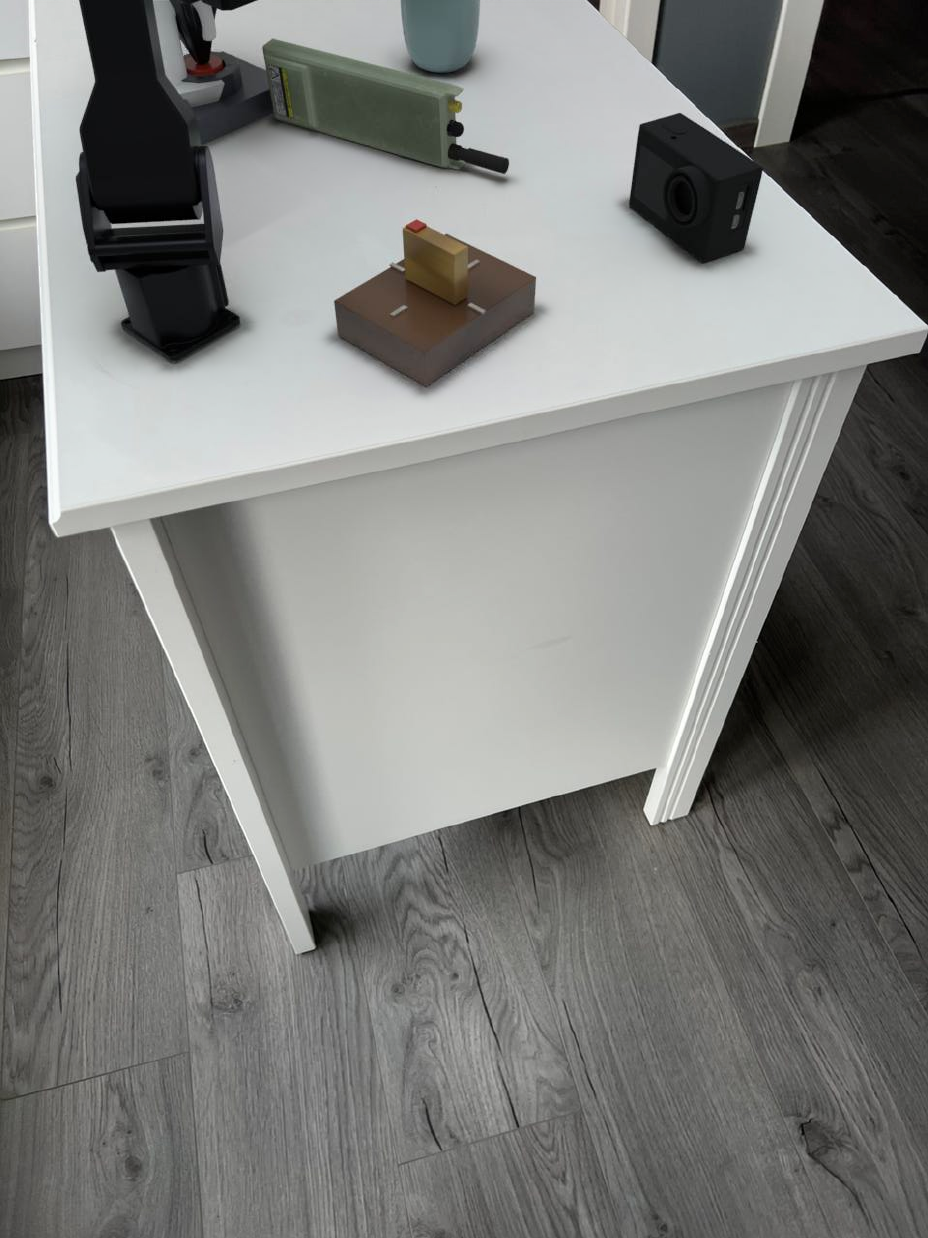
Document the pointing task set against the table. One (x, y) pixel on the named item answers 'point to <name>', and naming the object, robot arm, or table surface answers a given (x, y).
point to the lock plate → (434, 316)
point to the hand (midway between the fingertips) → (202, 62)
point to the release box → (232, 97)
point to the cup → (440, 32)
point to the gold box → (435, 262)
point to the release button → (204, 66)
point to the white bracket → (174, 55)
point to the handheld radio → (370, 105)
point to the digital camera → (694, 186)
